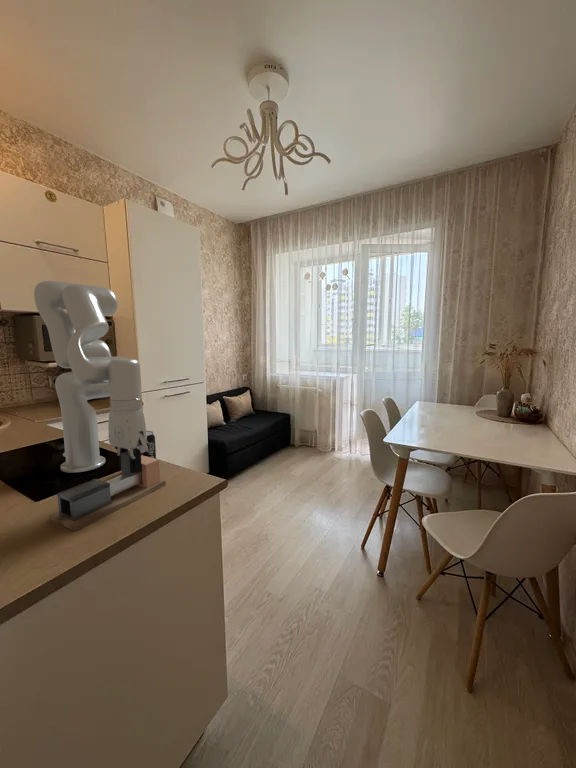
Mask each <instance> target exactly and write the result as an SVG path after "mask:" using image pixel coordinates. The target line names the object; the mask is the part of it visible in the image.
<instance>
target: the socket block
mask: <svg viewBox="0 0 576 768" xmlns="http://www.w3.org/2000/svg"><path fill="white" fill-rule="evenodd" d="M141 465H142V469H141V470H142V480H143V481H142V482H140V483H138V484H136V485H139V486H142V487H145V488H149V487H151V486H153V485H155V484H157V483H159V482H160V480H161V476H160V474H161V473H160V472H161V471H160V459H159V458H156V459H155V458H151V457H147V456H143V455H142V456H141Z"/></svg>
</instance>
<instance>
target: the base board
mask: <svg viewBox="0 0 576 768" xmlns="http://www.w3.org/2000/svg"><path fill="white" fill-rule="evenodd" d="M166 484H167V482H166V480H163V479H160V482H159V483H157V484H155V485H153V486H151V487H149V488H145V487H142V486H139V485H134V486H132V487H129V488H127V489H125V490H123V491H121V492H119V493H117V494H114V495H112V496H111V504H109V505H107V506H105V507H103V508H101V509H99V510H97V511H95V512H93V513H91V514H89V515H87V516H84V517H82V518H80V519H78V520H76V521H72V520H69V519H67V518H65V517H63V516H60V515H59V510H57V511H55V512H53V513H50V514H49V520H50V521H53V522H54V523H56V524H59V525H60V526H63V527H65V528H67V529H70V530H71V531H74V532H77V531H79V530H81V529H83V528H85V527H87V526H88V525H91V524H92V523H94V522H97V521H98V520H100V519H102V518H104V517H107V516H108V515H110V514H112V513H115V512H116V511H118V510H119V509H122V508H124V507H125V506H128V505H129V504H131V503H133V502H136V501H137V500H139V499H141V498H143V497H146V496H147V495H149V494H151V493H153V492H155V491H157V490H158V489H161V488H163V487H164V486H166Z"/></svg>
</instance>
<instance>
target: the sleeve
mask: <svg viewBox="0 0 576 768" xmlns="http://www.w3.org/2000/svg"><path fill="white" fill-rule="evenodd" d="M56 494H57V505H58V511H59V515H60V516H63V517H65V518H67V519H69V520H72V521H76V520H78V519H80V518H82V517H84V516H87V515H89V514H91V513H93V512H95V511H97V510H99V509H101V508H103V507H105V506H107V505H109V504H111V494H110V483H107V482H105V481H104V480H101V479H98V478H93V479H90V480H88V481H85V482H83V483H80V484H77V485H76V486H73V487H70V488H67V489H65V490H62V491H60V492H58V493H56Z"/></svg>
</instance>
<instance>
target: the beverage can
mask: <svg viewBox="0 0 576 768" xmlns="http://www.w3.org/2000/svg"><path fill="white" fill-rule="evenodd" d="M146 433H147V442H146V444H147V446H148V450H147V451H145V452H144V453H143V456H147V457H151V458H155V459H157V453H156V451H157V450H156V448H157V447H156V436H155V435H154V431H153V430H152V431H151V430H146ZM134 450H135V451H137V449H134Z"/></svg>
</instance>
